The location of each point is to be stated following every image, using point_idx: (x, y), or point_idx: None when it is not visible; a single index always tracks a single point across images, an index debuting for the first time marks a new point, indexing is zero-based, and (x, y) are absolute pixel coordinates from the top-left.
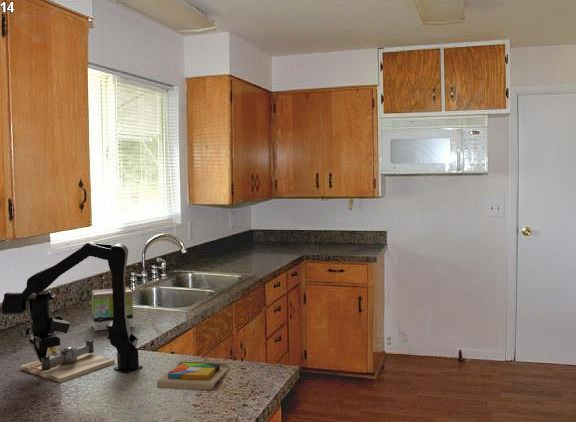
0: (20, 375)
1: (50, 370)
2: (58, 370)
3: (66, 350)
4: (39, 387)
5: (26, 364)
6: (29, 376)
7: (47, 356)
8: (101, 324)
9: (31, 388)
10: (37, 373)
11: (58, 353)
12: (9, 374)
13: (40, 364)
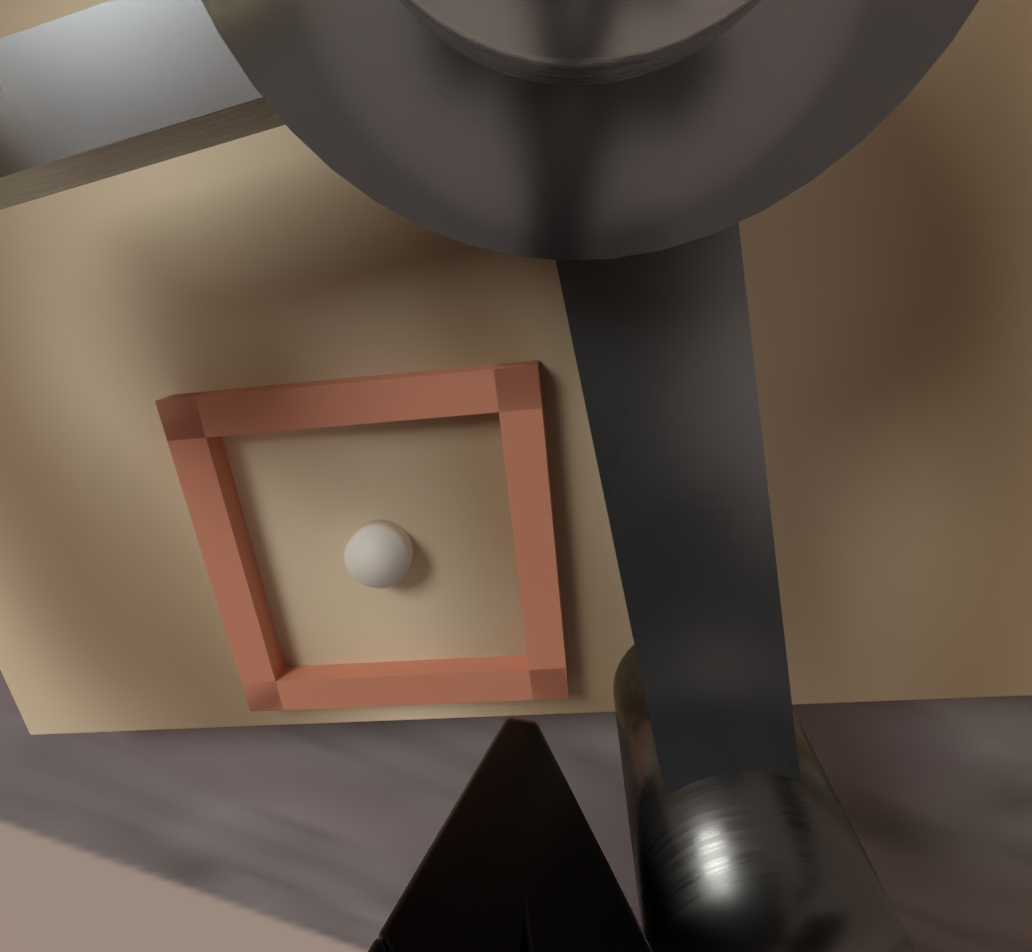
0: (340, 797)
1: None
2: (834, 486)
3: (747, 2)
4: (1021, 873)
5: (24, 660)
6: (481, 755)
7: (831, 940)
8: None
9: (945, 931)
10: None
11: (109, 108)
12: (193, 846)
13: (243, 558)
